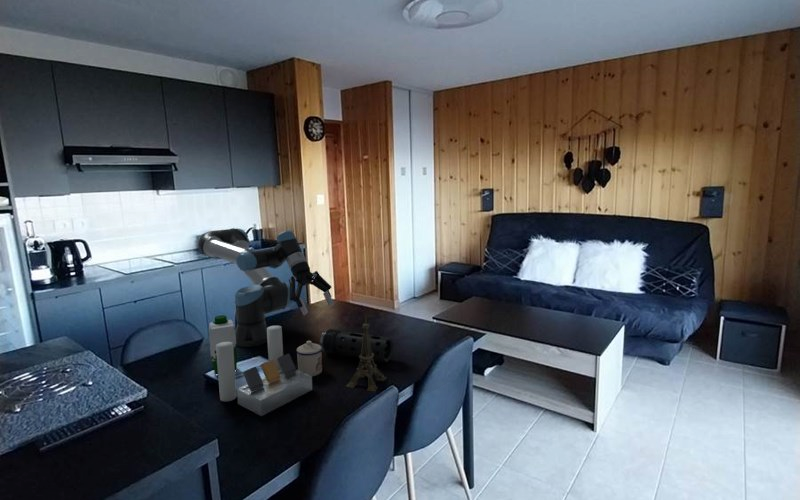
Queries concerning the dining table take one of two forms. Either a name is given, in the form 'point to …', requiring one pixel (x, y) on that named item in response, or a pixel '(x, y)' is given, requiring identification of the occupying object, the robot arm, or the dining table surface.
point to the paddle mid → (270, 371)
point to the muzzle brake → (355, 344)
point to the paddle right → (286, 364)
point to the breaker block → (274, 392)
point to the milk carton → (221, 337)
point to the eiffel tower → (366, 368)
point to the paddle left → (253, 379)
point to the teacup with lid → (310, 358)
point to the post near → (226, 371)
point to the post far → (275, 344)
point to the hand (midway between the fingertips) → (319, 309)
